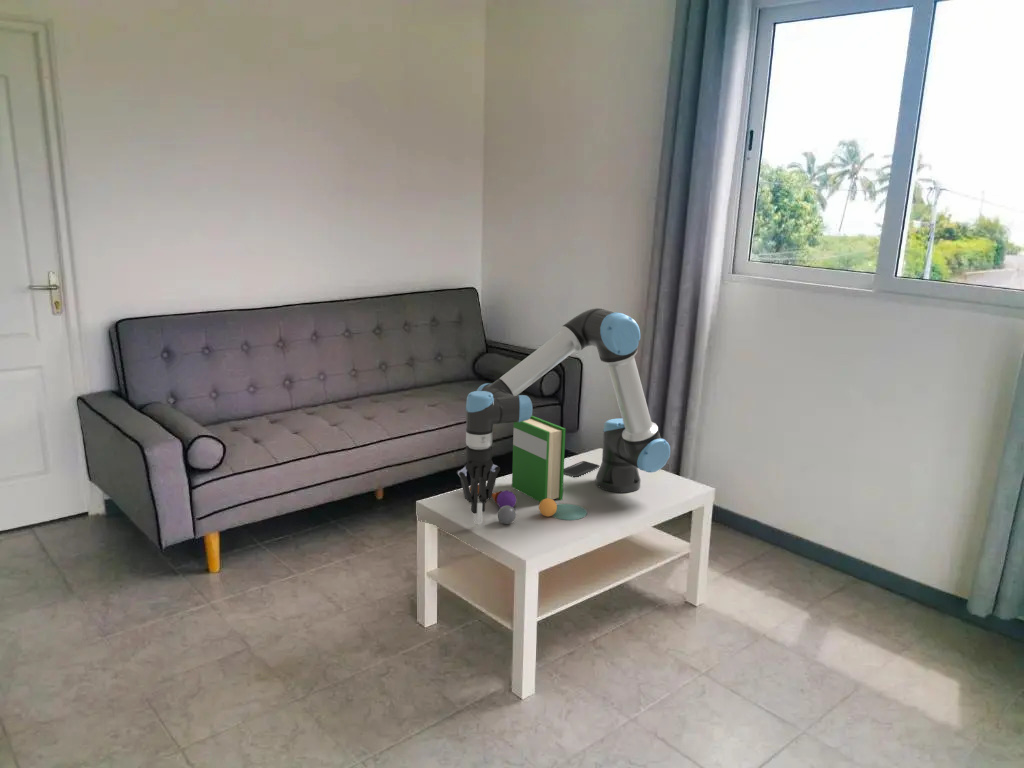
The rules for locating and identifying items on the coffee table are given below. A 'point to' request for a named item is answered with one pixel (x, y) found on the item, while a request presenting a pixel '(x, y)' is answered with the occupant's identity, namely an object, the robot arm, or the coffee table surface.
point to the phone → (580, 469)
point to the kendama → (503, 498)
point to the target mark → (569, 512)
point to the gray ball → (506, 514)
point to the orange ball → (547, 507)
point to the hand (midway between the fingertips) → (477, 522)
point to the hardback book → (538, 459)
